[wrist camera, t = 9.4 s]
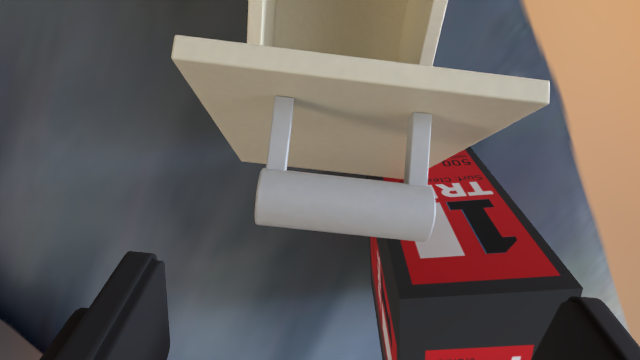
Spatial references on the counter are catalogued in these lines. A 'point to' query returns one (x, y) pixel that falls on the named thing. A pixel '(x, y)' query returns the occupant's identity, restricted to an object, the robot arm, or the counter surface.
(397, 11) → the cool box
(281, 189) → the cool box door
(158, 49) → the counter surface
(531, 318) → the cleaning product box
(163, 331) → the robot arm
